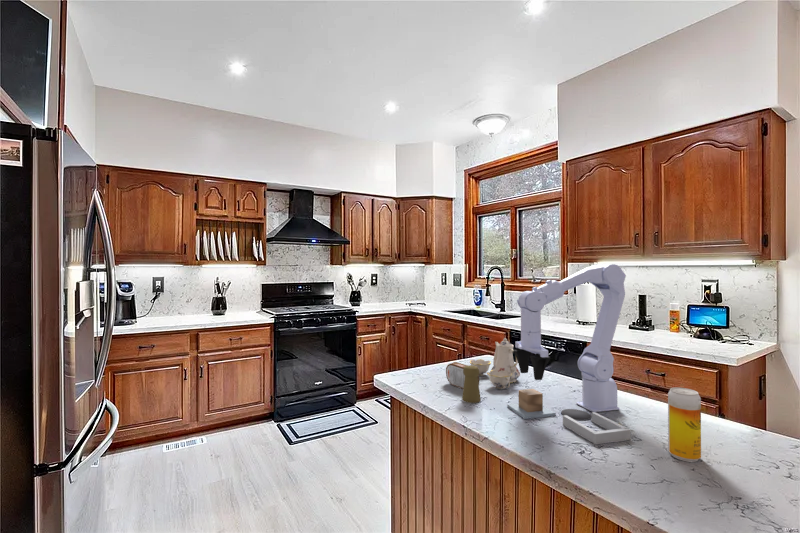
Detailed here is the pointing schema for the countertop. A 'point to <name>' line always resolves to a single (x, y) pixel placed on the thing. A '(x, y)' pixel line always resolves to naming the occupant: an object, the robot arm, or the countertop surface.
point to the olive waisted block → (471, 385)
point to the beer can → (684, 424)
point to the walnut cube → (530, 400)
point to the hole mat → (576, 414)
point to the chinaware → (500, 366)
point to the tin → (456, 374)
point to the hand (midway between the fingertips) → (531, 376)
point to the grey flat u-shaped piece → (610, 435)
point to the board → (527, 415)
